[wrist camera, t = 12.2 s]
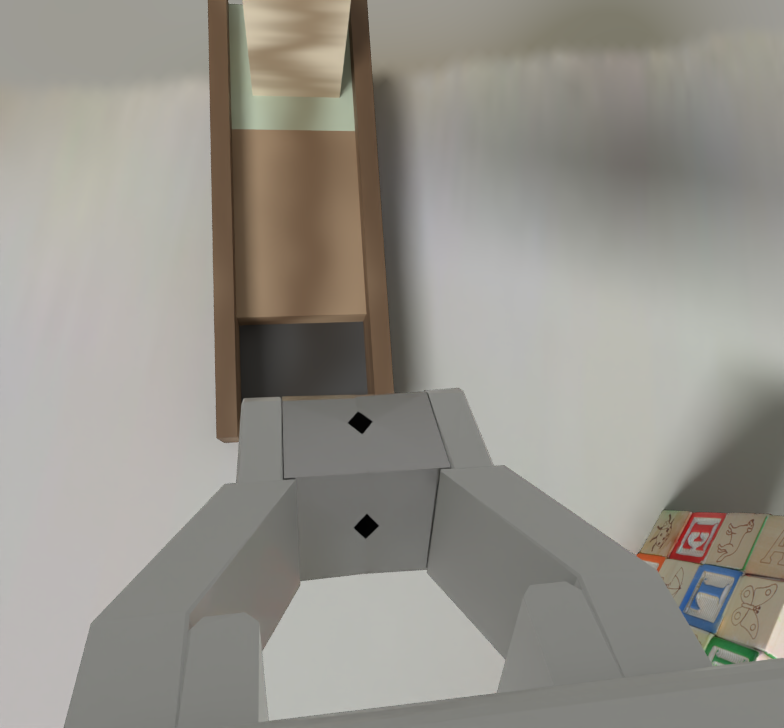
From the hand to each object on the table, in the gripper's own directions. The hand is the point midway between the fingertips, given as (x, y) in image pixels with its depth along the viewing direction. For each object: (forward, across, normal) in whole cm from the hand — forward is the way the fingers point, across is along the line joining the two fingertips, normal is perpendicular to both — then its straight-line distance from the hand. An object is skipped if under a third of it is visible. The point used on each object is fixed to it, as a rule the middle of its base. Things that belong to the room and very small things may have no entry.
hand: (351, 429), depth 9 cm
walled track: (+30, 0, +9) cm, 31 cm away
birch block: (+35, 0, +1) cm, 35 cm away
